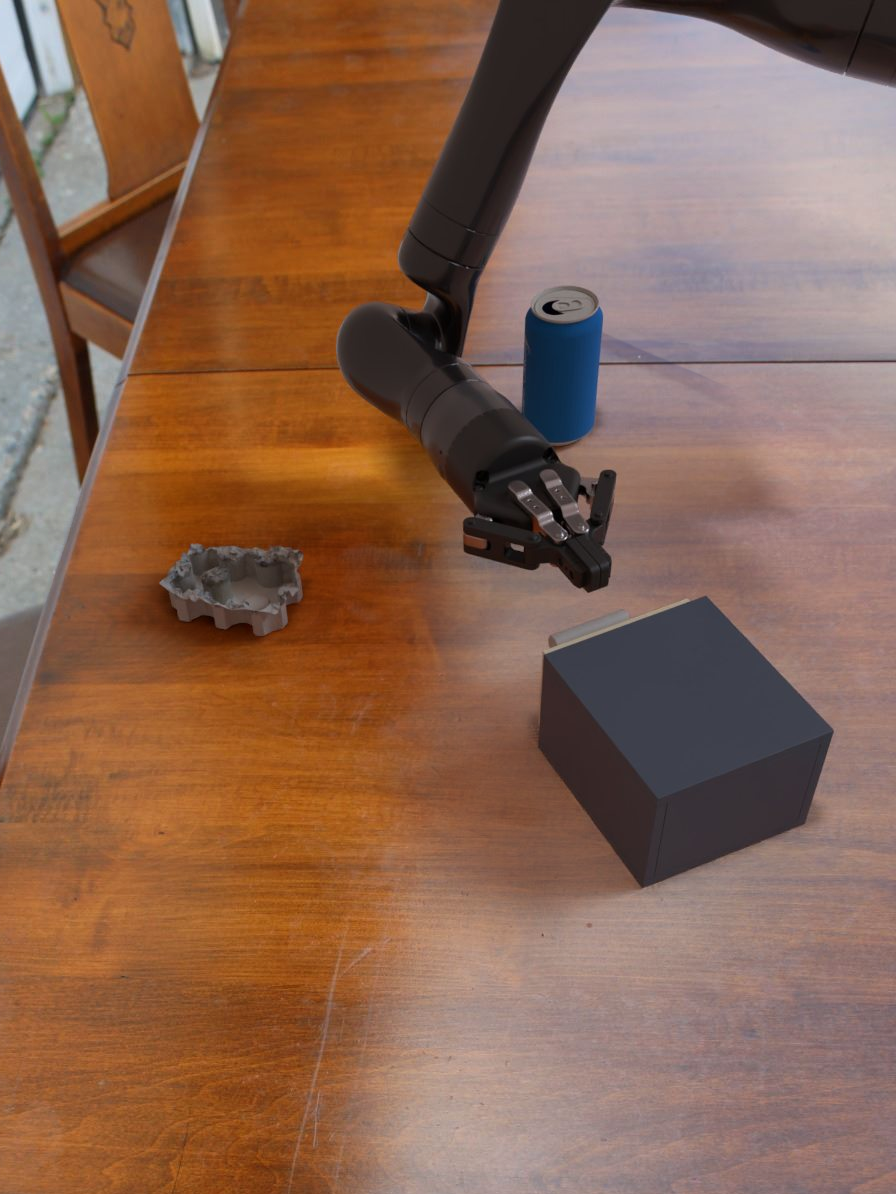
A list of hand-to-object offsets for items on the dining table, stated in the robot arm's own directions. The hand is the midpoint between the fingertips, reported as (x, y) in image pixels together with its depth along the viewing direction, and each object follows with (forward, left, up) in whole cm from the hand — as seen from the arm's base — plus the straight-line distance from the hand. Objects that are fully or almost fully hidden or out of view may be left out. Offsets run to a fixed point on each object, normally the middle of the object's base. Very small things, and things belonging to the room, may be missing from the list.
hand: (600, 579), depth 92 cm
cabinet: (+4, +10, -10) cm, 15 cm away
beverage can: (-23, -24, -10) cm, 35 cm away
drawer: (+3, +7, -9) cm, 12 cm away
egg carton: (+12, -28, -10) cm, 32 cm away
